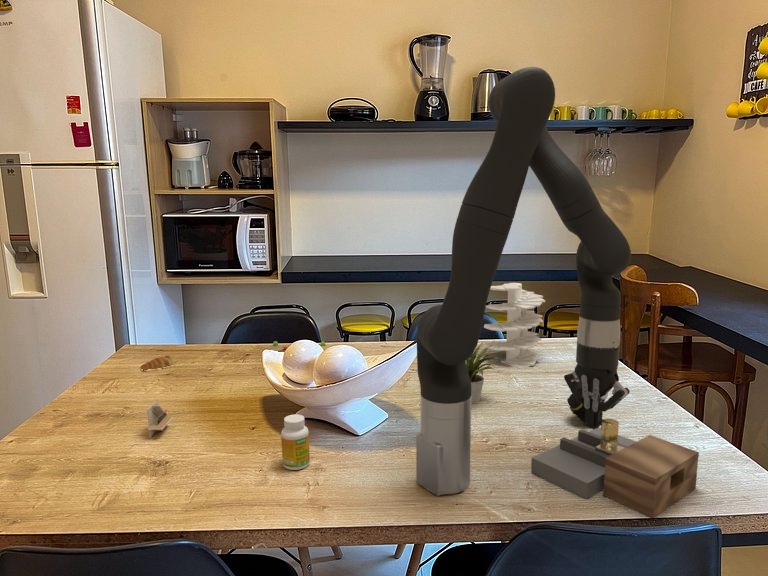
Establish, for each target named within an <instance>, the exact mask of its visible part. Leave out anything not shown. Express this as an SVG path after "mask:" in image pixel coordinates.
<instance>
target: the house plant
mask: <svg viewBox="0 0 768 576" xmlns="http://www.w3.org/2000/svg"><path fill="white" fill-rule="evenodd" d="M484 342H485V340H484V341H482V342H481V343H480V344H479V345H478V346H476V348H475V350H474V352H473V354H472V355H471V356H470V357H469V358H468V359H467V360H466V361H465V363H466V368H467V372H468V375H469V377H470V380H471V405H473V404H478V403H479V402H480V401H481V396H482V391H483V385H484V380H485V377H484V376H483V375H484V371H485V370H494V371H496V369H495V368H497V367H495V364H492V363H484V362H486V361H490V360H494V359H497V357H492V356H491V357H488V356H490V354H492V353H494V351H490V352H487V351H488V350H489V349H488V348H490V347H491V346H492V345H491V346H488V347H484V349H483V350H481V351H480V353H478V352H479V350H480V349H481V346H482V344H484Z"/></svg>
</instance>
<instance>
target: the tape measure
mask: <svg viewBox="0 0 768 576" xmlns="http://www.w3.org/2000/svg"><path fill="white" fill-rule="evenodd" d="M567 404H568V405H569V410H570V411H571V413H572V414H573V415H575V416H576V417H577V418H578V419H579V420H580V421H581V422H583V423H585V407H584V405H583V404H581V403H578V402H577V401H576V399H575V397H574V396H573V394H572V393H571V394H570V395H569V397H567Z"/></svg>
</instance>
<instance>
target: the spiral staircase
mask: <svg viewBox="0 0 768 576" xmlns="http://www.w3.org/2000/svg"><path fill="white" fill-rule="evenodd" d="M522 287H523V284H522V283H520V282H508V283H503V284H501V285H491V288H490V290H492V291H499V292H500V291H501V292H502V291H503V292H506V291H507V302H502V303H498V304H493V303H492V304H490V303H488V305H487V304H486V308H487V309H488V310H494V311H500V312H502V311H506V313H507V315H506V319H507V320H506V321H505V322H499V323H495V322H493V323H485V324H484V326H483V328H484V329H485V330H486V329H487V330H489V331H497V332H503V333H504V332H506V341H501V340H500V341H495V340H492V341H484V342H483V344H482V345H481V346H482V347H483V348H486V347H488V346H491V345H492V346H491V347H490V348H488V349H487V350H493V351H496V352H502V351H505V354H506V355H505V359H504V360H501V361H500V363H502V364H505V365H508V366H511V367H513V368H516V369H518V368H519V369H518V370H522V369H523V368H524V369H526V367H527V368H530V367H531V366H532V367H534V365H536V364H537V361H541V359H540V358H539V357H538V356H537V355H538V352H537V351H533V350H530V349H532V348H533V347H537V345H538V343H539V342H541V341H542V338H540V337H539V336H538V335H539V333H537V332H533V331H529V329H532V328H536V327H538V326H539V325H541V324H540V323H544V320H543V319H542V318H543V315H542V314H538V313H535V311H534V310H533V309H536V307H540V306H541V305H543V303H546V300H545V299H544V295H543V294H542V295H540V294H536V293H535V291H528V290H526V289H523V288H522ZM486 308H485V309H486ZM530 309H532V310H530ZM529 366H530V367H529ZM524 369H523V370H524Z"/></svg>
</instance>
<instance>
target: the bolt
mask: <svg viewBox="0 0 768 576" xmlns="http://www.w3.org/2000/svg"><path fill="white" fill-rule="evenodd" d="M619 426H620V422H619V421H618V420H616V419H613V418H602V423H601V426H600V428H601V439H600V445H598V446H596V447H595V450H597V451H599V452H602V453H604V454H607V455H609V456H611V455H612V454H614V453H616V452H618V451H620V450H622V449H624V447H622V446H619V445H617V443H618V435H619Z"/></svg>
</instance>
